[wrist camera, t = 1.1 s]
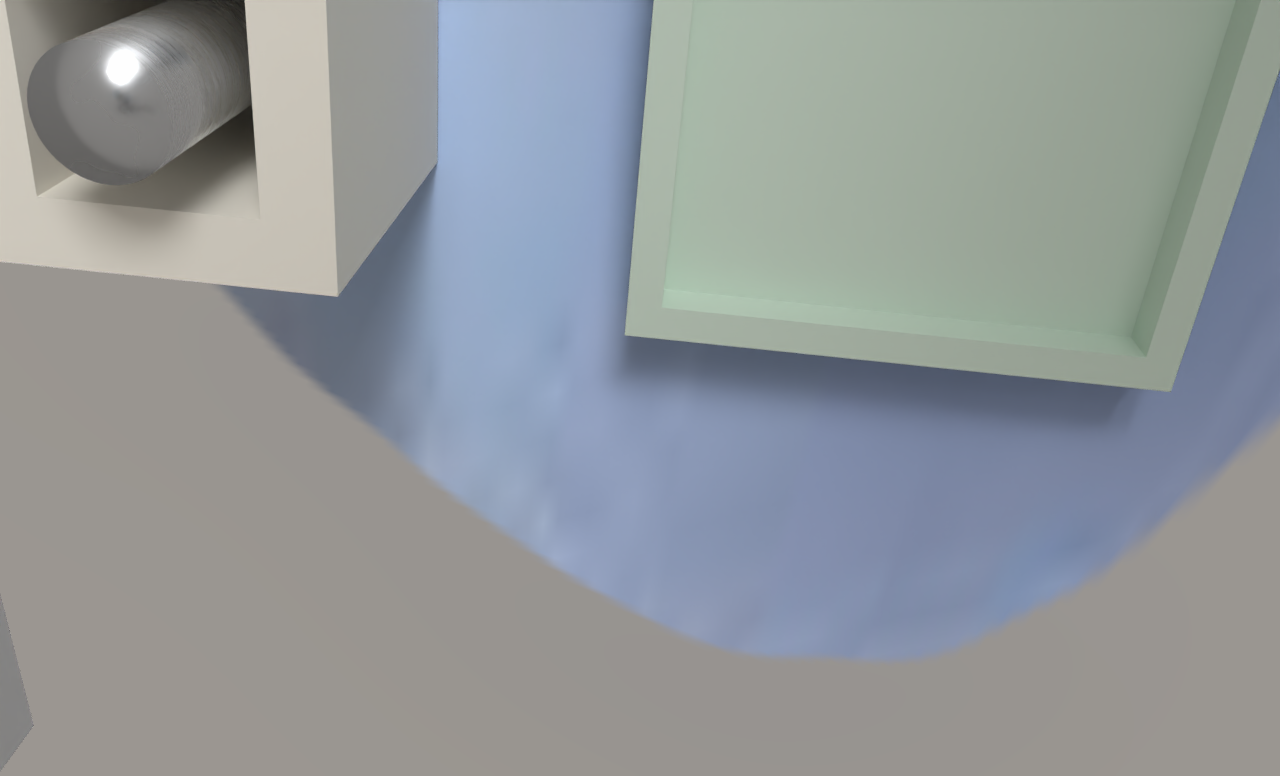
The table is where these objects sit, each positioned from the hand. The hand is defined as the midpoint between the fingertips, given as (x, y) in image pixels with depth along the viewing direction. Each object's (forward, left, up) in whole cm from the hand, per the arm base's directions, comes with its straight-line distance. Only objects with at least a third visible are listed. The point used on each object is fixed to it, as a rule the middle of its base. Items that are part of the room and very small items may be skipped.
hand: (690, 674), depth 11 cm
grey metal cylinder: (-1, -12, -25) cm, 27 cm away
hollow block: (-1, -12, -25) cm, 27 cm away
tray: (-1, +6, -25) cm, 25 cm away
